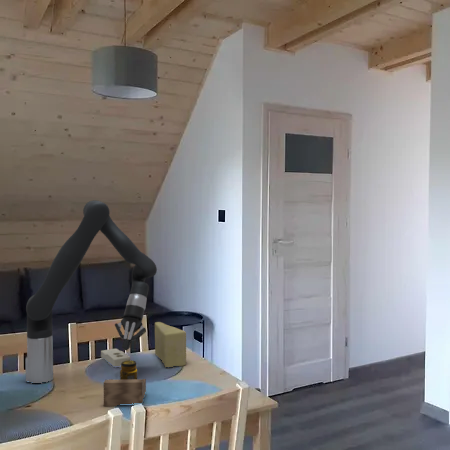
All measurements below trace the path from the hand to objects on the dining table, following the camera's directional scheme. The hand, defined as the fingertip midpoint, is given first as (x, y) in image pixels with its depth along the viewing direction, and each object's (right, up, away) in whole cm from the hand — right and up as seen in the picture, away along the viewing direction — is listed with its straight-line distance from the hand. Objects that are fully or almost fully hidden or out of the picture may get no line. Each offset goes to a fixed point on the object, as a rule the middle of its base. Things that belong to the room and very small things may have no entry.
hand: (125, 349), depth 196 cm
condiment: (+4, -13, -15) cm, 20 cm away
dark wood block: (+4, -13, -19) cm, 23 cm away
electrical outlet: (-9, -11, +25) cm, 29 cm away
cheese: (+13, -11, +26) cm, 31 cm away
